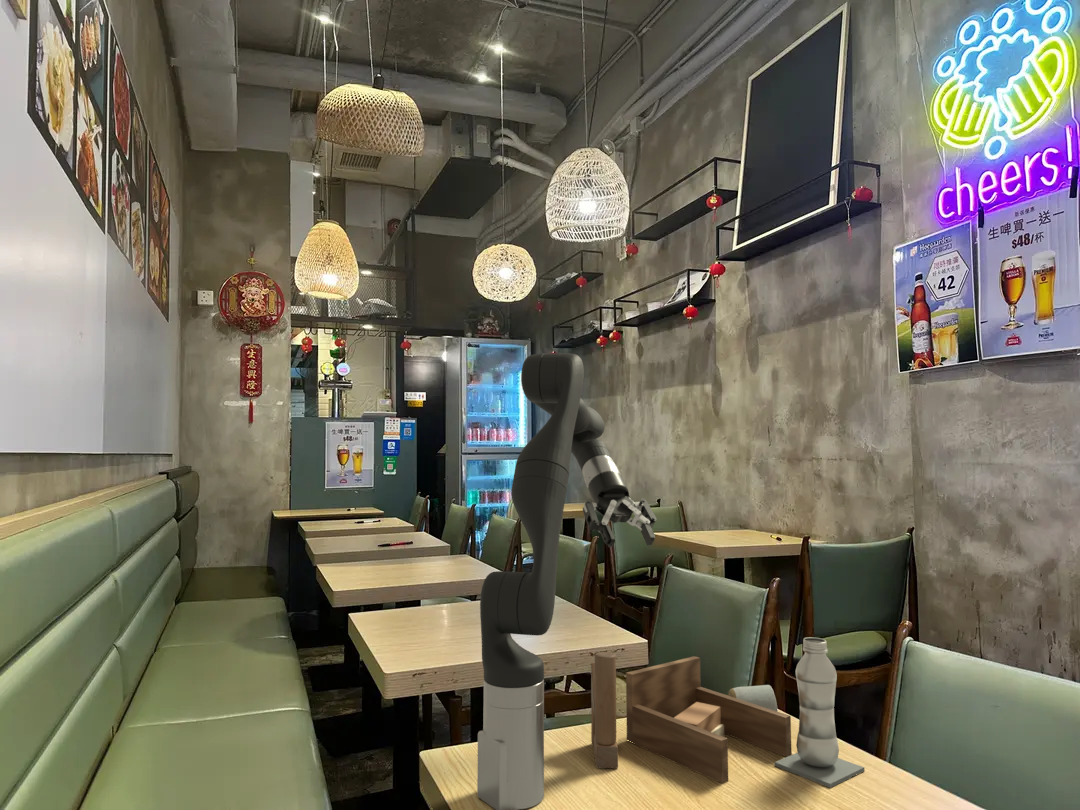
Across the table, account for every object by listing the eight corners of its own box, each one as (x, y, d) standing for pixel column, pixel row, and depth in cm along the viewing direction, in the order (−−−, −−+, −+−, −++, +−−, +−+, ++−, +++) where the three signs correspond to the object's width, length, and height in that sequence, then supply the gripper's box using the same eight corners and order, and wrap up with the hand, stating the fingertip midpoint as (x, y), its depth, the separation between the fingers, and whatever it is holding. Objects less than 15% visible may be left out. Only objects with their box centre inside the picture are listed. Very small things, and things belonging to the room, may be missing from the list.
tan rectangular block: (694, 763, 120) (693, 726, 120) (666, 755, 123) (665, 719, 124) (725, 741, 129) (724, 707, 129) (698, 734, 132) (697, 701, 133)
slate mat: (830, 787, 110) (830, 783, 110) (774, 765, 118) (774, 762, 118) (864, 771, 116) (864, 767, 116) (809, 751, 124) (809, 747, 124)
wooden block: (611, 743, 128) (610, 640, 129) (618, 769, 117) (617, 657, 118) (590, 743, 128) (590, 640, 129) (596, 769, 117) (595, 657, 118)
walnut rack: (722, 783, 112) (720, 704, 113) (626, 740, 129) (626, 672, 130) (791, 754, 123) (789, 683, 124) (695, 718, 140) (694, 656, 141)
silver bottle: (788, 760, 119) (785, 637, 121) (818, 753, 122) (814, 633, 123) (817, 775, 113) (814, 646, 115) (848, 768, 116) (845, 642, 118)
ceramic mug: (726, 719, 140) (725, 679, 140) (768, 720, 139) (767, 679, 140) (739, 741, 129) (738, 698, 130) (784, 742, 129) (783, 698, 129)
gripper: (579, 469, 144) (605, 532, 132) (640, 469, 149) (671, 529, 137) (568, 495, 148) (592, 557, 137) (628, 494, 153) (657, 554, 142)
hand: (632, 543), depth 137 cm, fingers open, 8 cm apart
